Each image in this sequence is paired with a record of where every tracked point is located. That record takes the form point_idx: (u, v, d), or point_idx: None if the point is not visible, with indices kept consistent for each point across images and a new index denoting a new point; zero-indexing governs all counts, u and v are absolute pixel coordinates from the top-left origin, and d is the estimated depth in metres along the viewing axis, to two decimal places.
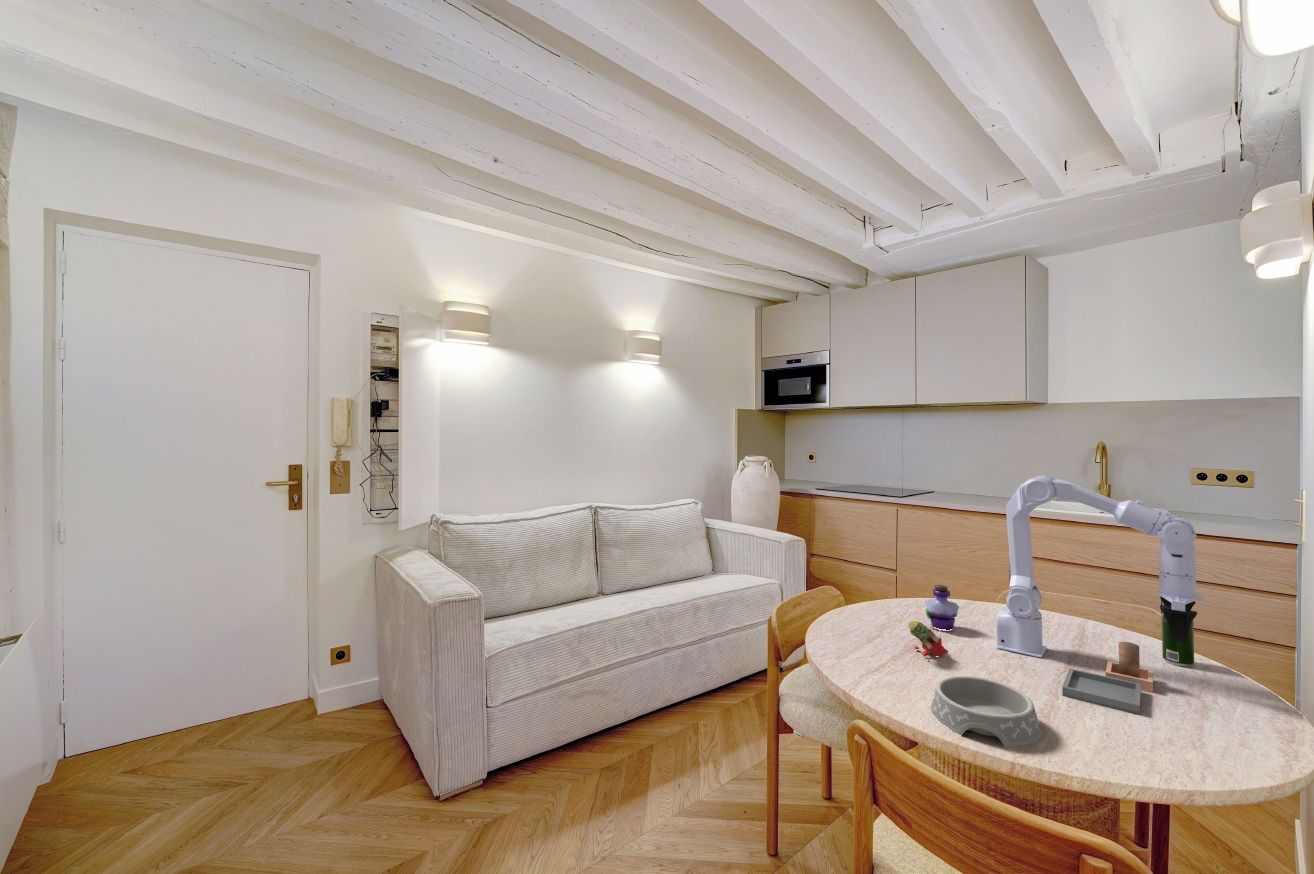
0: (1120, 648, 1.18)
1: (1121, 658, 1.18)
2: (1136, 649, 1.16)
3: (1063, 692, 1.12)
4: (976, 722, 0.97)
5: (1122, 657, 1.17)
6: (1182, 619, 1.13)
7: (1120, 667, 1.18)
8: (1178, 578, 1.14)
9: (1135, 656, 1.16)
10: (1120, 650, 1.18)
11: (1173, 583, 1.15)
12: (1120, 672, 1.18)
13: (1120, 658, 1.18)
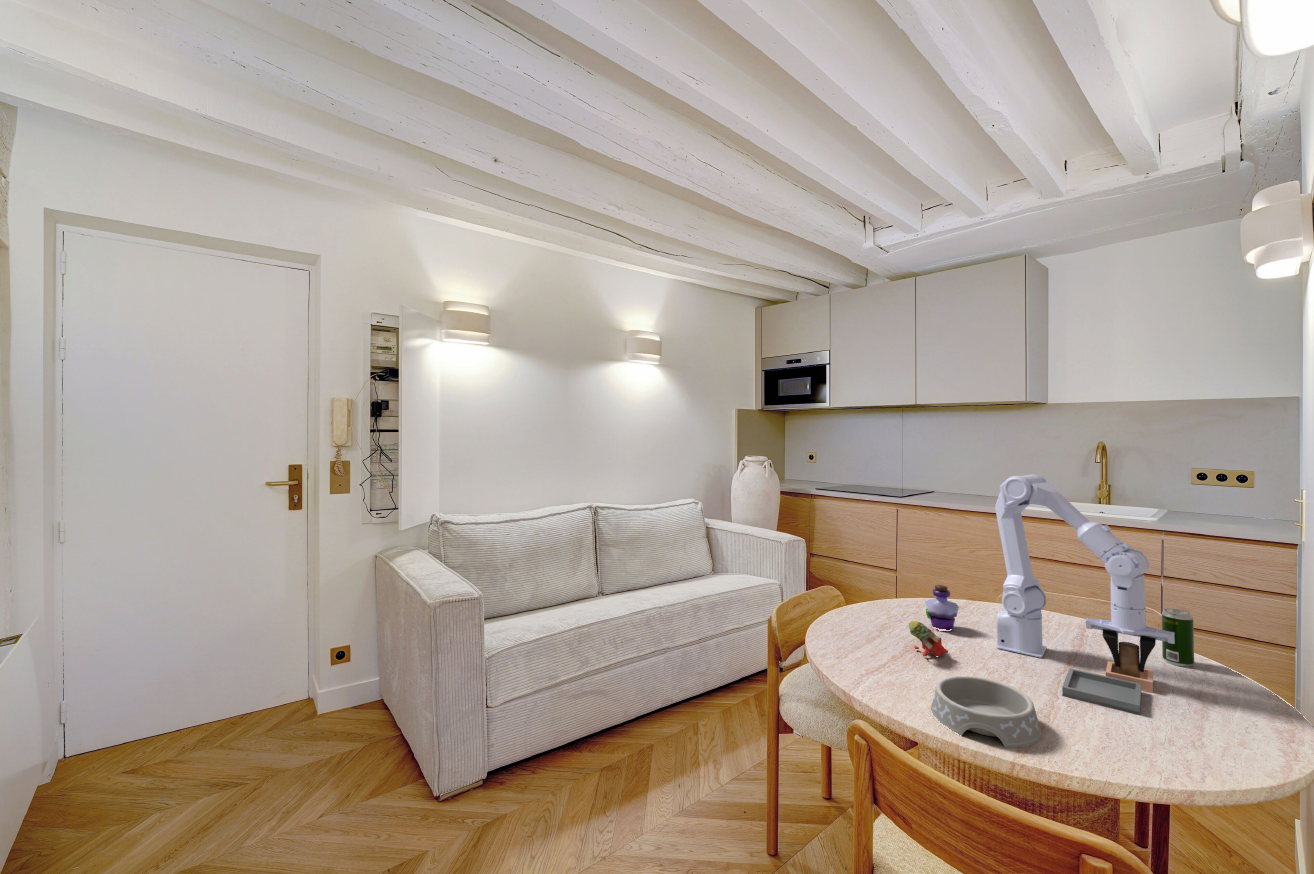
0: (1120, 648, 1.18)
1: (1121, 658, 1.18)
2: (1136, 649, 1.16)
3: (1063, 692, 1.12)
4: (976, 722, 0.97)
5: (1122, 657, 1.17)
6: None
7: (1120, 667, 1.18)
8: (1111, 605, 1.20)
9: (1135, 656, 1.16)
10: (1120, 650, 1.18)
11: None
12: (1120, 672, 1.18)
13: (1120, 658, 1.18)
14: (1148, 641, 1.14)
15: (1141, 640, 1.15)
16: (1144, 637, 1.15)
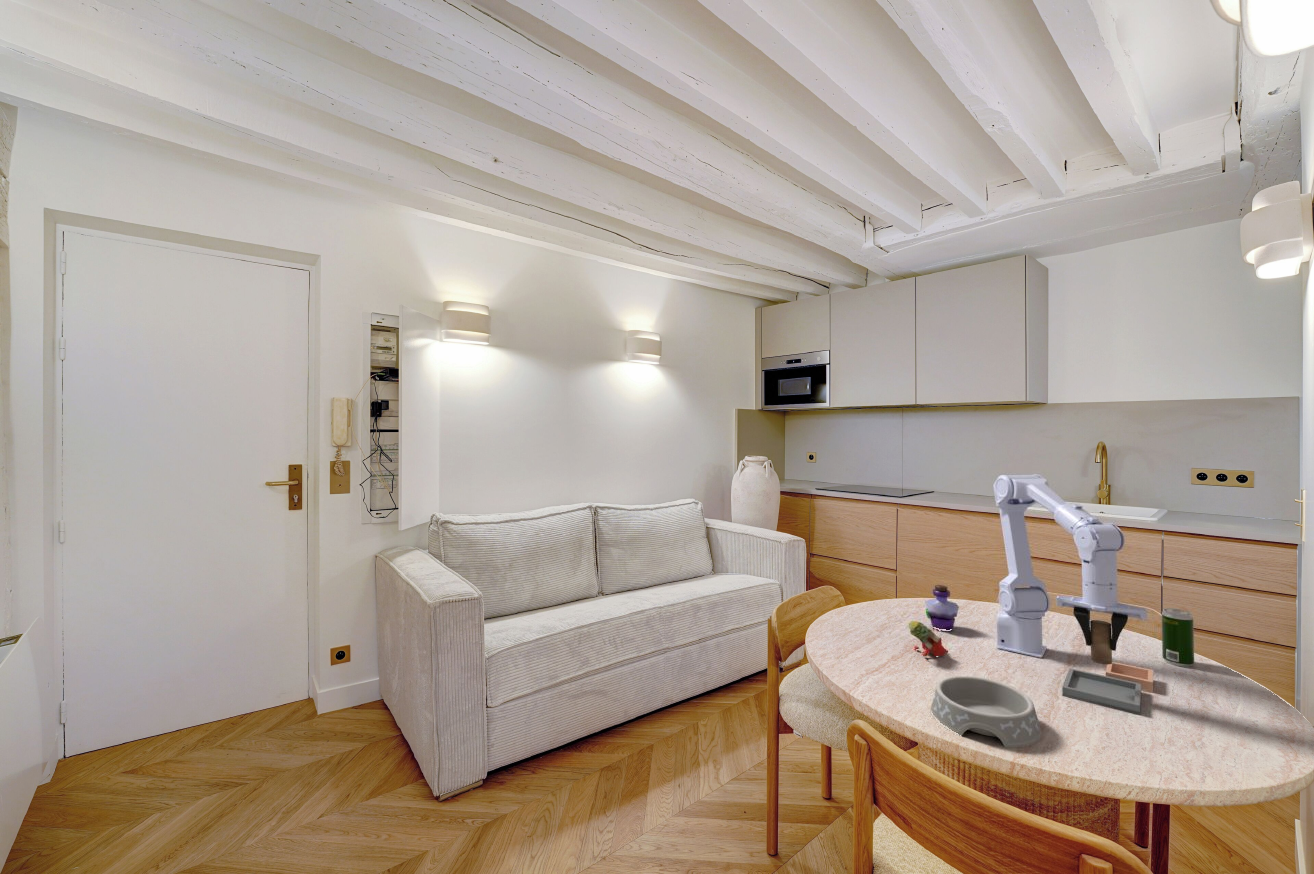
0: (1091, 626, 1.13)
1: (1092, 636, 1.13)
2: (1107, 627, 1.11)
3: (1063, 692, 1.12)
4: (976, 722, 0.97)
5: (1093, 635, 1.12)
6: None
7: (1091, 646, 1.13)
8: (1082, 582, 1.14)
9: (1106, 634, 1.11)
10: (1091, 628, 1.13)
11: None
12: (1091, 651, 1.13)
13: (1091, 636, 1.13)
14: (1120, 618, 1.09)
15: (1113, 617, 1.09)
16: (1116, 614, 1.10)
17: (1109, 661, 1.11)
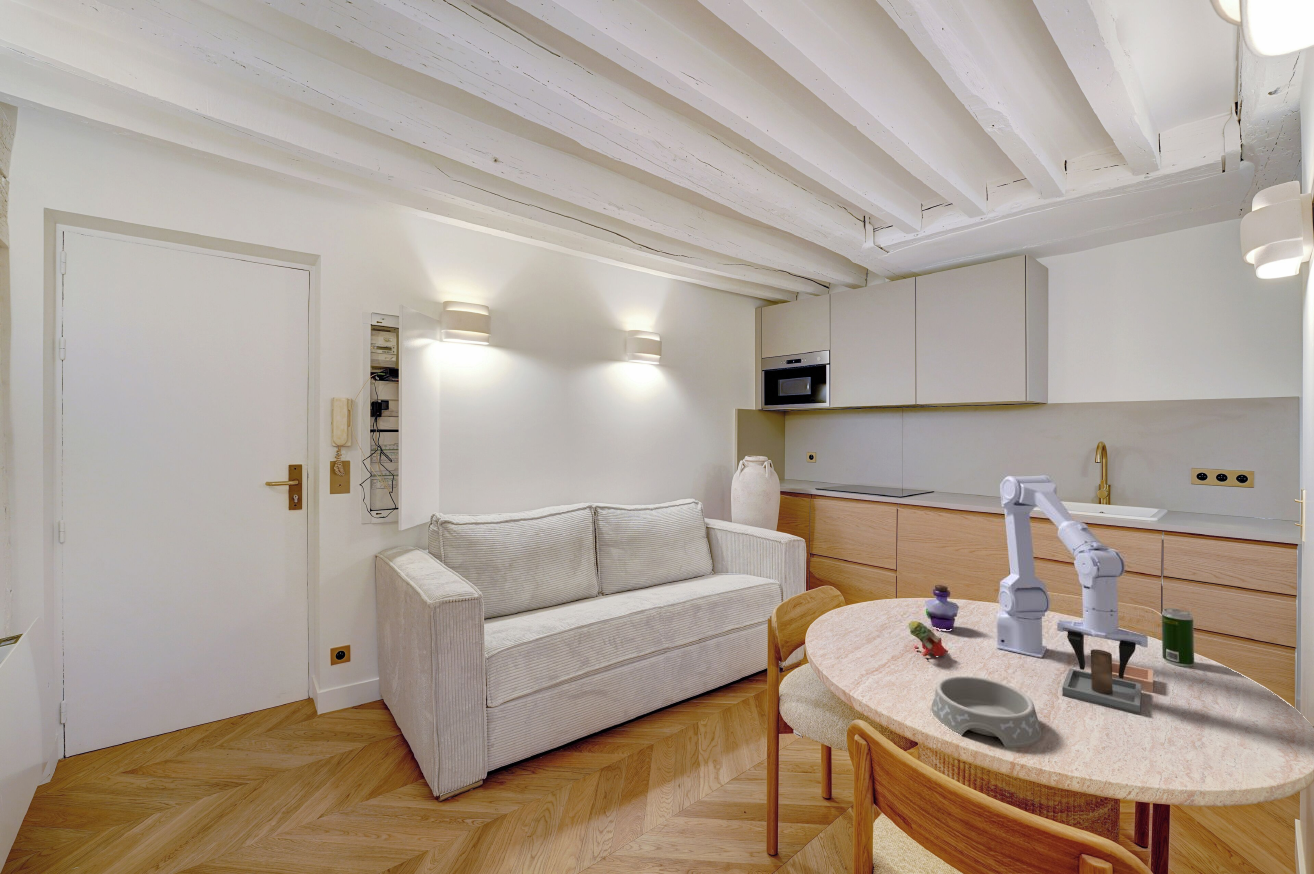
0: (1092, 656, 1.13)
1: (1093, 666, 1.13)
2: (1108, 657, 1.11)
3: (1063, 692, 1.12)
4: (976, 722, 0.97)
5: (1093, 665, 1.12)
6: None
7: (1092, 676, 1.13)
8: None
9: (1106, 664, 1.11)
10: (1092, 658, 1.13)
11: None
12: (1092, 681, 1.13)
13: (1092, 666, 1.13)
14: (1128, 646, 1.08)
15: (1120, 645, 1.09)
16: (1124, 642, 1.09)
17: (1110, 691, 1.11)
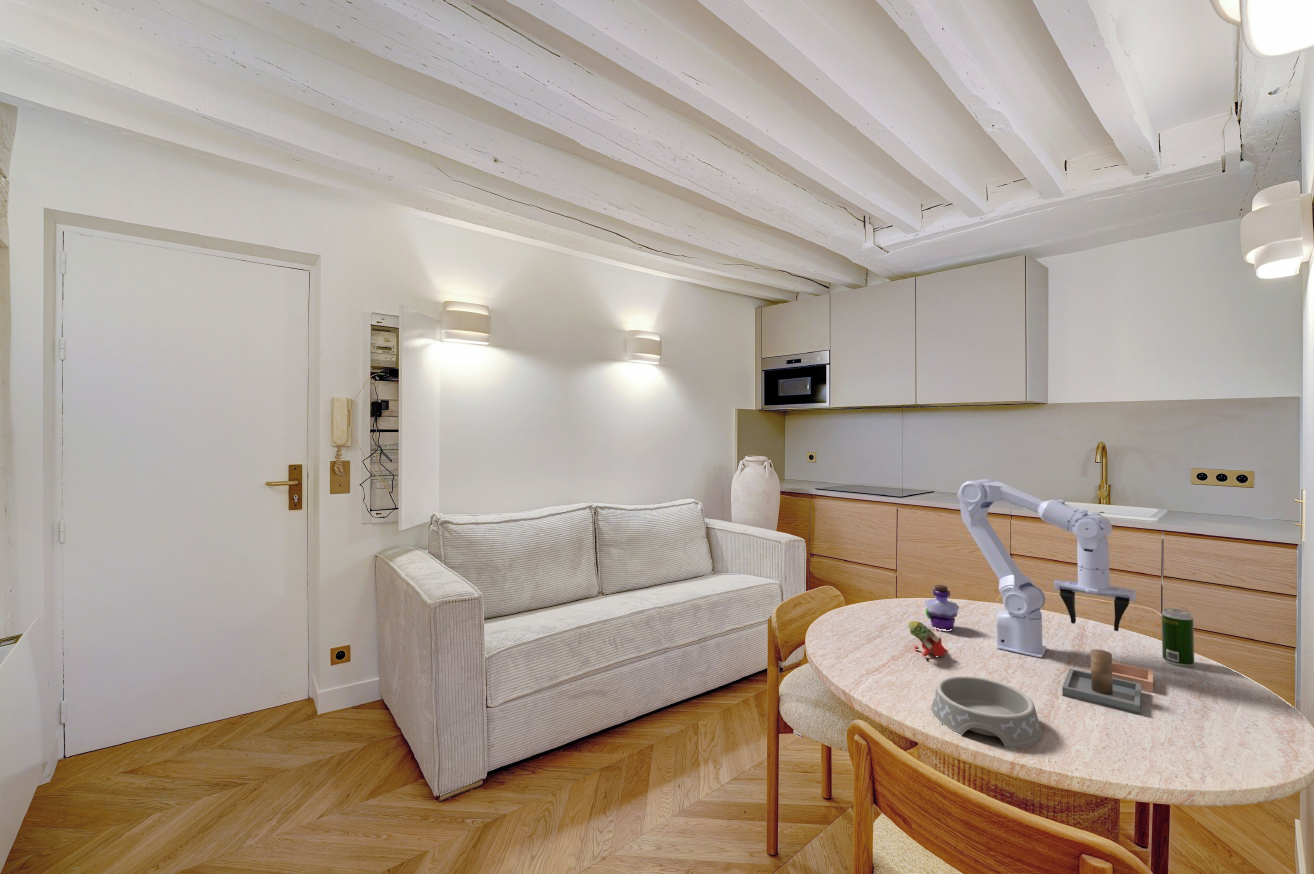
0: (1092, 656, 1.13)
1: (1093, 666, 1.13)
2: (1108, 657, 1.11)
3: (1063, 692, 1.12)
4: (977, 722, 0.97)
5: (1093, 665, 1.12)
6: None
7: (1092, 676, 1.13)
8: None
9: (1106, 664, 1.11)
10: (1092, 658, 1.13)
11: None
12: (1092, 681, 1.13)
13: (1092, 666, 1.13)
14: (1122, 601, 1.19)
15: (1115, 600, 1.20)
16: (1118, 597, 1.20)
17: (1110, 691, 1.11)
